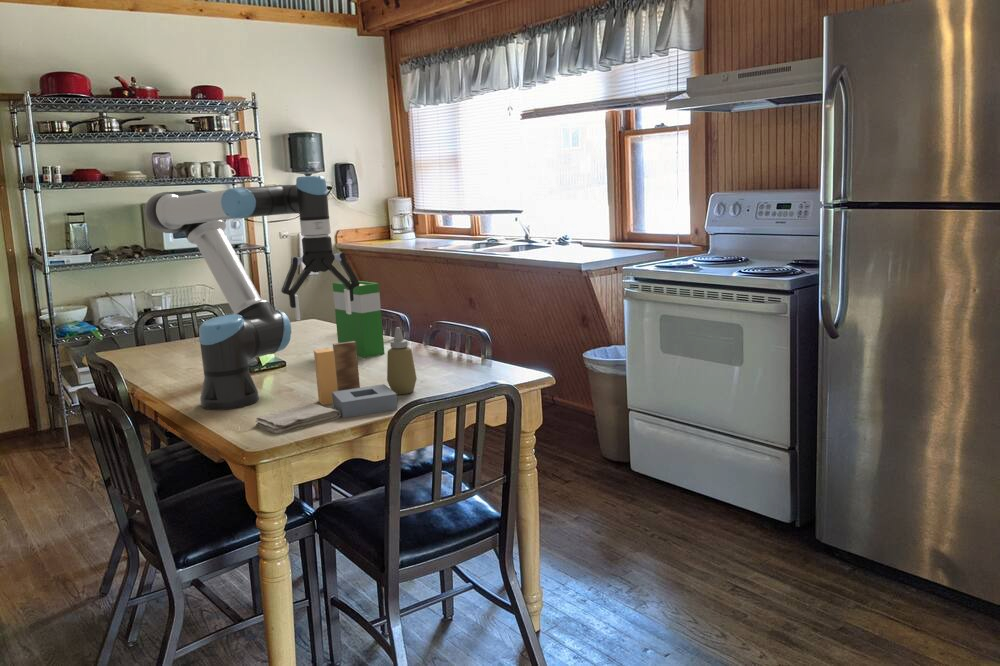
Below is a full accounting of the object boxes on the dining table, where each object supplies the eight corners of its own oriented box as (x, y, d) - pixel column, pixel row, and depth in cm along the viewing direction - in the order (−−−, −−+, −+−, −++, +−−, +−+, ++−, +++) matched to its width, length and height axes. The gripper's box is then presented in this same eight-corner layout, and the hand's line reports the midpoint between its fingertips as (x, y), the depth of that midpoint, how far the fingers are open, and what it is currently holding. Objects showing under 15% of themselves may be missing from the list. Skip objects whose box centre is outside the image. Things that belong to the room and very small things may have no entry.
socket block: (343, 417, 208) (341, 402, 208) (333, 406, 219) (331, 391, 219) (397, 409, 214) (396, 393, 213) (385, 398, 225) (384, 384, 224)
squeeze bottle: (396, 387, 236) (391, 324, 232) (422, 389, 233) (417, 325, 229) (382, 395, 228) (377, 330, 225) (409, 396, 225) (404, 330, 222)
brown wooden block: (338, 394, 232) (334, 344, 229) (337, 393, 234) (332, 343, 231) (360, 391, 234) (355, 342, 231) (358, 389, 236) (354, 340, 233)
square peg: (321, 404, 222) (316, 353, 219) (318, 401, 226) (313, 350, 223) (338, 402, 224) (334, 350, 221) (335, 398, 228) (330, 348, 225)
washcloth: (253, 427, 206) (251, 415, 206) (317, 411, 218) (316, 399, 217) (276, 437, 197) (274, 424, 197) (341, 419, 209) (340, 407, 209)
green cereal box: (338, 351, 291) (332, 282, 287) (357, 347, 296) (351, 280, 292) (365, 357, 278) (359, 286, 274) (384, 353, 283) (378, 283, 278)
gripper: (270, 240, 210) (278, 324, 214) (366, 233, 220) (373, 312, 224) (264, 239, 216) (273, 320, 220) (358, 231, 227) (365, 309, 231)
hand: (323, 316), depth 222 cm, fingers open, 13 cm apart
